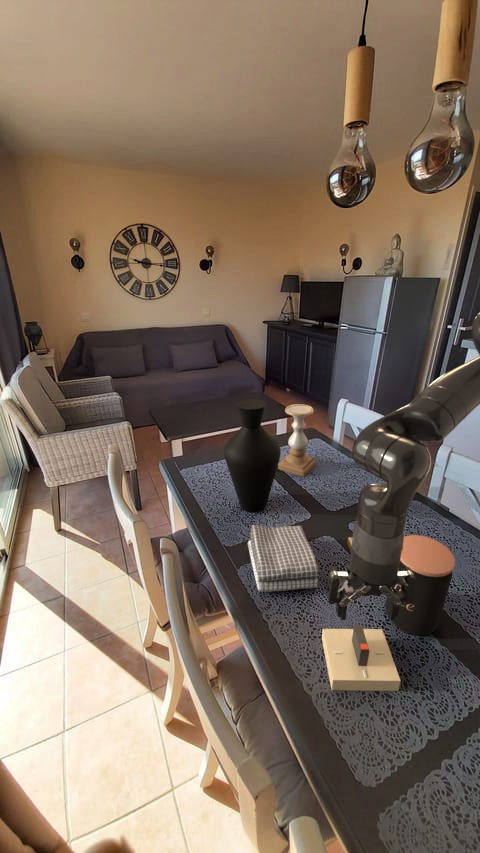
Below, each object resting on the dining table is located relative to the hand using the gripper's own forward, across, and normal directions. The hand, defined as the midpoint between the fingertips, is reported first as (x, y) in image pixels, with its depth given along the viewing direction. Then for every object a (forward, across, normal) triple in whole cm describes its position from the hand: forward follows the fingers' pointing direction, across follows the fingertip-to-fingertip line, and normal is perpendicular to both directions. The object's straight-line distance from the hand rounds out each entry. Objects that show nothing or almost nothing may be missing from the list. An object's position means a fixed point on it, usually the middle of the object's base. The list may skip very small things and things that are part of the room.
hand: (365, 615), depth 65 cm
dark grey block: (+10, 0, 0) cm, 10 cm away
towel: (+13, +13, -25) cm, 31 cm away
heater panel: (+13, 0, 0) cm, 13 cm away
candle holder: (+14, +3, -75) cm, 76 cm away
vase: (+13, +20, -51) cm, 56 cm away
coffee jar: (+14, -14, -10) cm, 22 cm away
